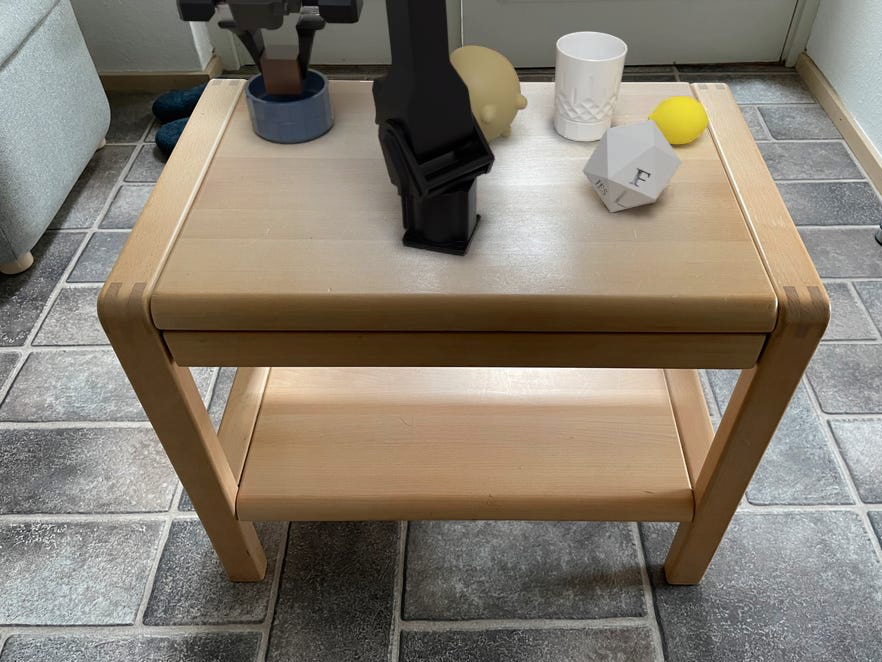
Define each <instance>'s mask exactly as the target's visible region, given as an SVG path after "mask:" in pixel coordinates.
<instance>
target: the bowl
mask: <svg viewBox="0 0 882 662" xmlns="http://www.w3.org/2000/svg"><path fill="white" fill-rule="evenodd" d="M243 92H244V97H245V102H246V106H247V111H248V114H249V119H250V124H251V127H252V130H253V131H254V132H255V133H256V134H257V135H258V136H260V137H262V138H263V139H265V140H267V141H270V142H274V143H279V144H298V143H304V142H308V141H312V140H314V139H316V138H319V137H321V136H323V135H325V133H326V132H327V131H328V130H330V128H331V127H332V125H333V124H334V120H335V119H334V118H335V115H334V107H333V100H332V91H331V84H330V80H329V78H328V77H327V75H325V74H324V73H322V72H321V71H318V70H316V69H314V68H313V69H312V68H310V67H309V68H308V74H307V81H306V84H305V87H304V89H303V92H302V94H267V93H266V88H265V83H264V78H263V76H262V74H261V72H259V73H256V74H255V75H253V76H251V77H250V78H249V79H248V80H247V81H246V82H245V84H244V87H243Z"/></svg>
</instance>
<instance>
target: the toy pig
mask: <svg viewBox="0 0 882 662" xmlns="http://www.w3.org/2000/svg"><path fill="white" fill-rule="evenodd" d="M449 56H450V61H451V63H452V64H453V66H454V67H455V69H456V70H457V72H458V73H459V75H460V76H461V78H462V79H463V80H464V82H465V83H466V85H467V86H468V89H469V95H470V102H471V109H472V112H473V114H474V116H475V118H476V120H477V122H478V124H479V126H480V128H481V130H482V132H483V134H484V136H485V138H486V140H487V142H488V143H490V142H492V141H494V140H496V139H497V138H498V137H502V138H505V139H506V138H509V137H510V136H511V133H512V127H511V124H512V123H513V121H514V120H515V118H516V116H517V114H518V112H519V111H523V110H525V109H526V108H527V106H528V103H529V102H528V99H527V97H526V96H525V95H523V94H522V88H521V81H520V79H519V76H518V74H517V73H518V72H517V71H516V70H515V68H514V66H513V65H512V63H511V61H509V59H507V57H505V56H504V55H502V54H501V53H500V52H498V51H496V50H493V49H491V48H489V47H486V46H481V45H465V46H461V47H459V48H456V49H455V50H453V51H452V53H451V54H449Z"/></svg>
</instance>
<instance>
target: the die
mask: <svg viewBox="0 0 882 662" xmlns="http://www.w3.org/2000/svg"><path fill="white" fill-rule="evenodd" d="M681 164H683V162H682V160H681V159H680V157H679V156H678V154H677V153H676V151H675V150H674V148H673V147H672V146H671V143H668V141H667V140H666V138H665V137H664V135H663V134H662V132H661V131H660V129H659V128H658V126H657V125H656V124H655V122H654V121H653V119H652V120H648V119H647V120H643V121H637V122H632V123H628V124H627V123H626V124H622V125H617V126H612V127H610V128H607V129H606V131H605V133H604V134H603V136H602V138H601V139H600V140H598V143H597V145H596V146H595V148H594V150H593V151H592V154H591V155H590V157H589V159H588V160H587V162H586V163H585V166H584V167H583V169H582V172H583V174H584V176H585V177H586V178H587V180H588V181H589V183H590V184H591V186H592V187H593V189H594V190H595V192H596V193H597V194H598V196H599V197H600V199H601V200H602V202H603V203H604V205H605V206H606V207H607V209H608V211H609V212H610V213H615V212H620V211H623V210H627V209H633V208H635V207H636V208H637V207H641V206H644V205H650V204H654V203H656V201H657V199H658V198H659V197H660V195H661V193H662V192H663V191H664V189H665V188H666V187H667V185H668V184H669V182H670V181H671V179H672V178H673V176H674V175H675V174H676V172H677V171H678V169H679V167H681Z"/></svg>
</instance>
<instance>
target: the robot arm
mask: <svg viewBox="0 0 882 662" xmlns="http://www.w3.org/2000/svg"><path fill="white" fill-rule="evenodd" d="M384 2H385V10H386V20H387V28H388V29H387V30H388V38H389V46H390V56H391V57H390V58H391V63H390V66H389V68H388V71H387V73H386V74H385V75H382V76H379V77H376V78H373V81H372V86H371V94H372V97H373V103H374V108H375V117H374V123H375V125H378V129H377V138H378V141H379V145H380V148H381V152H382V156H383V159H384V163H385V167H386V170H387V174H388V178H389V180H390V183H391V185H393V186H394V187H396V189H397V195H398V196H399V197H400V205H401V220H402V227H403V229H405V230H406V231H405V233H404V234H403V236H402V238H401V243H402V244H403V245H405V246H409V247H414V248H419V249H425V250H426V249H427V250H432V251H437V252H443V253H444V252H445V253H449V254H455V255H460V256H461V255H466V254H467V252H468V250H469V248H470V245H471V243H472V242H473V239H474V237H475V235H476V232H477V230H478V228H479V226H480V224H481V222H482V216H481V215H480V214H479V213H477V209H478V208H477V206H478V205H477V202H478V199H477V196H478V177H481V176H483V175H488V174H489V173H491V172H492V170H493V169H492V168H493V166H494V163H495V160H496V157H495V153H494V152H493V150H492V148H491V145H490V144H489V142H487V140H486V138H485V136H484V134H483V132H482V130H481V128H480V126H479V124H478V122H477V120H476V118H475V116H474V114H473V112H472V109H471V102H470V95H469V89H468V86H467V85H466V83H465V82H464V80H463V79H462V78H461V76H460V75H459V73H458V72H457V70H456V69H455V67H454V66H453V64H452V63H451V61H450V44H449V42H450V41H449V25H448V9H447V7H448V5H447V0H385V1H384ZM175 5H176V8H177V12H178V17H179V19H180V20H181V21H182V22H190V23H191V22H192V23H193V22H196V23H201V22H202V23H208V22H210V21H211V20H212V18H213V17H214V16H215V14H216V11H217V15H218V21H217V26H218V27H219V28H220V29H221V30H228V31H229V32H231V33H232V34H234V35H235V36H236V37H237V38H238V40H240V42H241V44H243V45H244V47H245V49H246V50H247V52H248V53H249V55H250V57H251V59H252V61H253V62H254V64H255V65H256V67H257V69H258V70H259V73H261V74H262V76H263V73H262V68H261V63H260V58H261V56H262V54H263V52H264V50H265V48H266V45H265V41H264V36H263V32H262V29H265V30H267V31H276V30H279V29H280V28H282V26H283V25H284V16H290V14H299V17H298V19H297V21H296V24H295V31H296V34H297V43H298V45H299V60H300V70H301V74H302V79H303V80H306V78H307V74H308V68H309V69H310V63H311V56H312V52H313V46H314V40H315V36H316V32H317V31H323V30H324V29H326V25H327V24H336V25H337V24H339V25H343V24H345V25H346V24H347V25H352V24H353V25H354V24H356V23H359V21H360V17H361V14H362V10H363V8H364V7H363V6H364V0H175Z"/></svg>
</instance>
